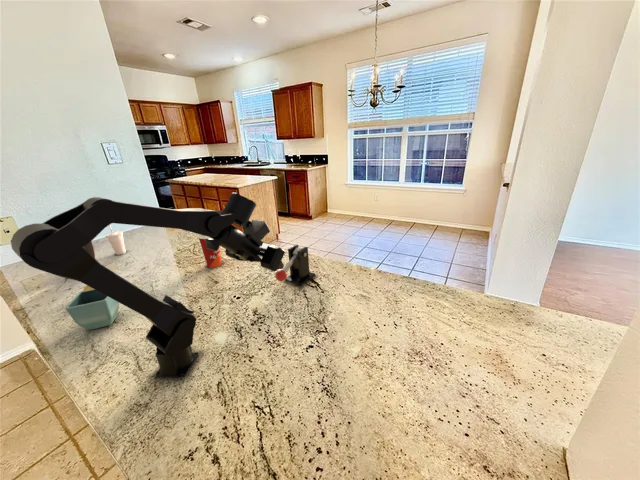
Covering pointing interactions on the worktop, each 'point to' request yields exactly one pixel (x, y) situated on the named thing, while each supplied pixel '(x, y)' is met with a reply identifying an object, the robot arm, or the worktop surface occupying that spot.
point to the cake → (112, 267)
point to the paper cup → (210, 253)
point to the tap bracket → (299, 267)
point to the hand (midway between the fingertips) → (271, 263)
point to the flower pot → (93, 309)
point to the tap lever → (287, 267)
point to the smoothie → (116, 241)
